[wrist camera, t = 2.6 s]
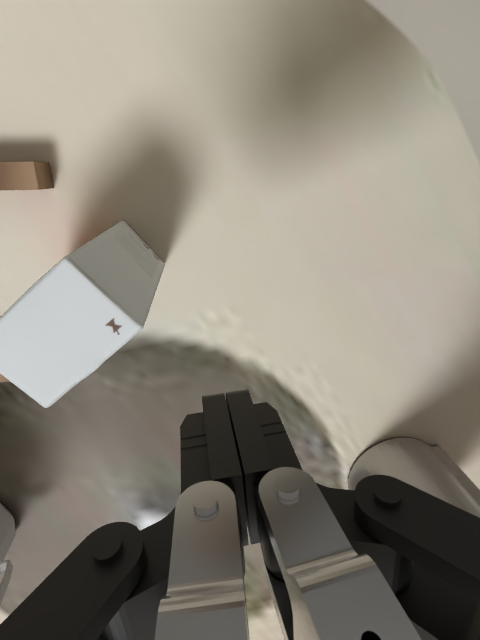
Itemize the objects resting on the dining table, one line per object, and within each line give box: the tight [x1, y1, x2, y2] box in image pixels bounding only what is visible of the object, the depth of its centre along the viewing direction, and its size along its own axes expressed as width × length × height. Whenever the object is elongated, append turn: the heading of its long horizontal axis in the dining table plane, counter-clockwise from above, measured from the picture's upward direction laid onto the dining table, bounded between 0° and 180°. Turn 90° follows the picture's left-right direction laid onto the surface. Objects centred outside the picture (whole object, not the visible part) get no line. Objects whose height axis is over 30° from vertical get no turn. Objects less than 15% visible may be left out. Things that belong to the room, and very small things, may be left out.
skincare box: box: [0, 221, 165, 408], centre depth 21 cm, size 6×4×12 cm
